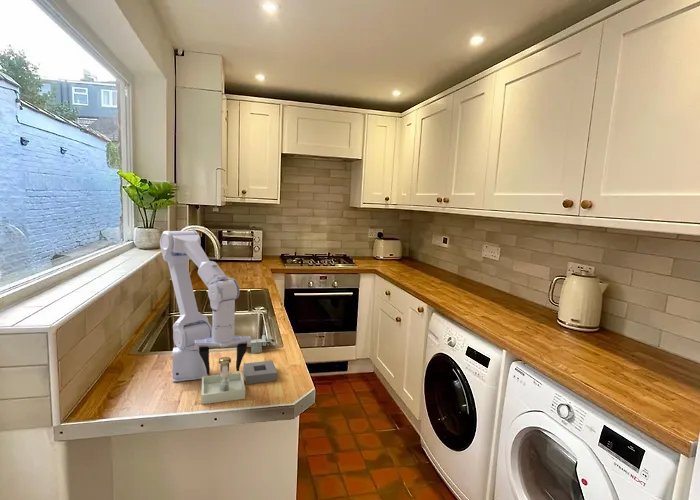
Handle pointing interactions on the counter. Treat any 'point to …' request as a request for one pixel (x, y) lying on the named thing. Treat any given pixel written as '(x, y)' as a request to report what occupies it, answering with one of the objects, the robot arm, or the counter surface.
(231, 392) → the tray
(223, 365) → the steel pin
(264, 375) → the pin block
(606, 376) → the counter surface
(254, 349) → the metal bracket
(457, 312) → the counter surface
